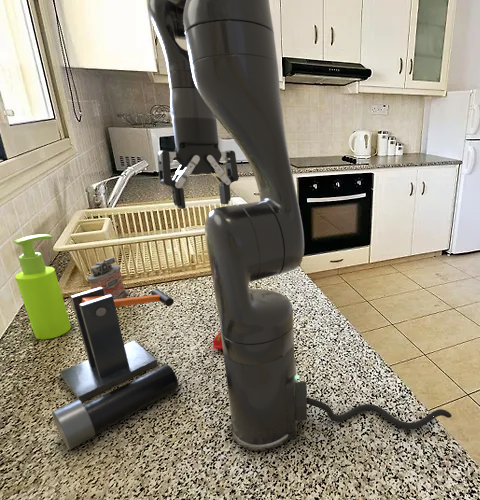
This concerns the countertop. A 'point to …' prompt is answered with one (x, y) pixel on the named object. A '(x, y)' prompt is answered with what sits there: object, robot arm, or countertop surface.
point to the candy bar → (218, 342)
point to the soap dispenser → (41, 292)
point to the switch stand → (103, 348)
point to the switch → (139, 299)
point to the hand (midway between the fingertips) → (204, 206)
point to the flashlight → (112, 406)
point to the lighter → (107, 278)
